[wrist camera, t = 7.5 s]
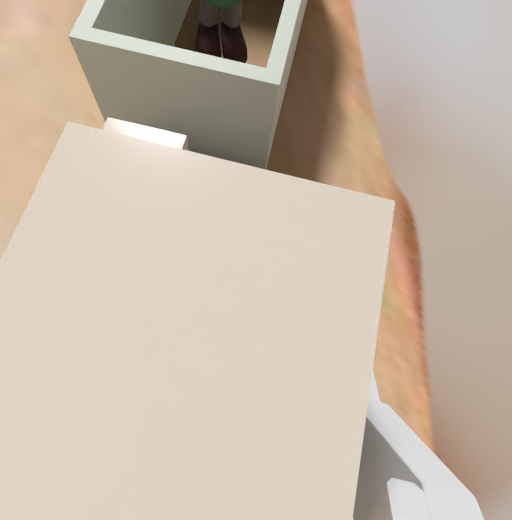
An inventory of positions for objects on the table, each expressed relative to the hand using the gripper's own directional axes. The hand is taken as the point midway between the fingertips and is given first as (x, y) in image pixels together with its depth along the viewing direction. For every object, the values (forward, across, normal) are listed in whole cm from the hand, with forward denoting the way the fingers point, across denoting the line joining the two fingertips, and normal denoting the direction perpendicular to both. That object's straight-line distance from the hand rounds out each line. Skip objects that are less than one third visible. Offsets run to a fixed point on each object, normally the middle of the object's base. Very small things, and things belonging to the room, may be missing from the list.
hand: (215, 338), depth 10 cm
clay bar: (+4, 0, +5) cm, 6 cm away
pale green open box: (+35, +7, -6) cm, 37 cm away
